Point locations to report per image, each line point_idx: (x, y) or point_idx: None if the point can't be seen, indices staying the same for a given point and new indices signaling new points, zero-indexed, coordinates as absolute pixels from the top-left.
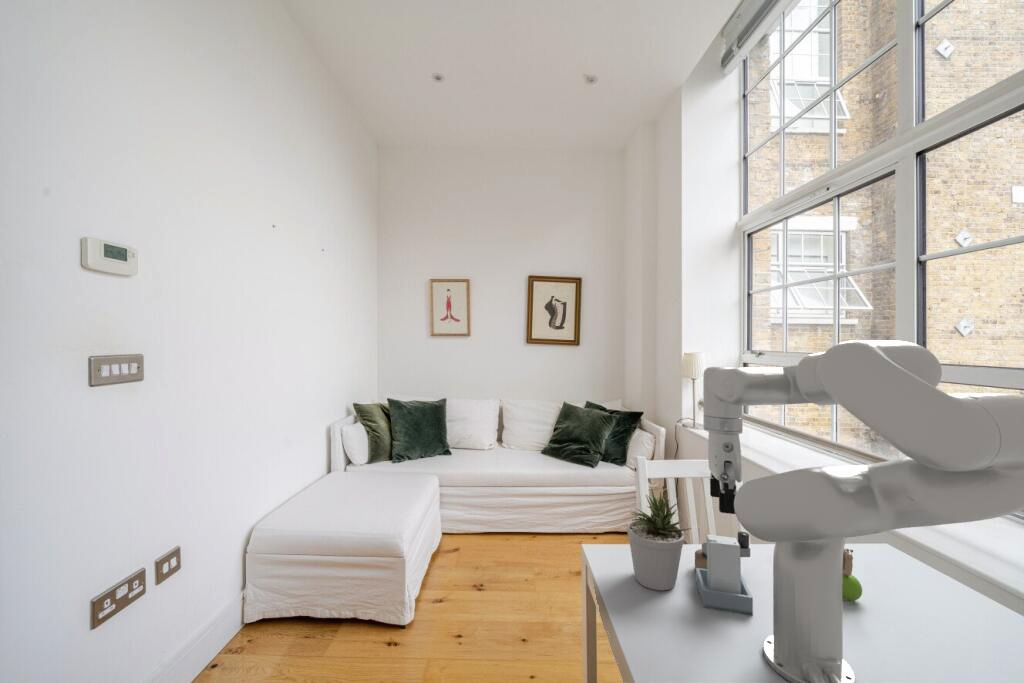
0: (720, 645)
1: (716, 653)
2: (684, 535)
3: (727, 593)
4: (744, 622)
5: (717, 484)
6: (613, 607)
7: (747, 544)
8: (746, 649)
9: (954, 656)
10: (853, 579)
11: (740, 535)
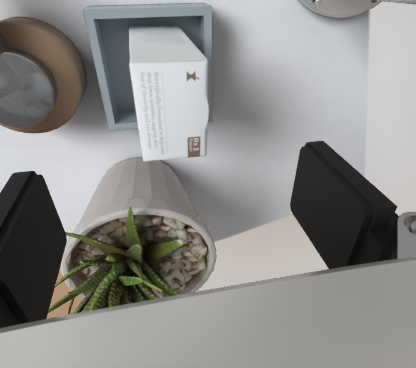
0: (308, 89)
1: (326, 97)
2: (142, 208)
3: (210, 69)
4: (234, 30)
5: (32, 279)
6: (244, 229)
7: None
8: (313, 45)
9: None
10: None
11: None
